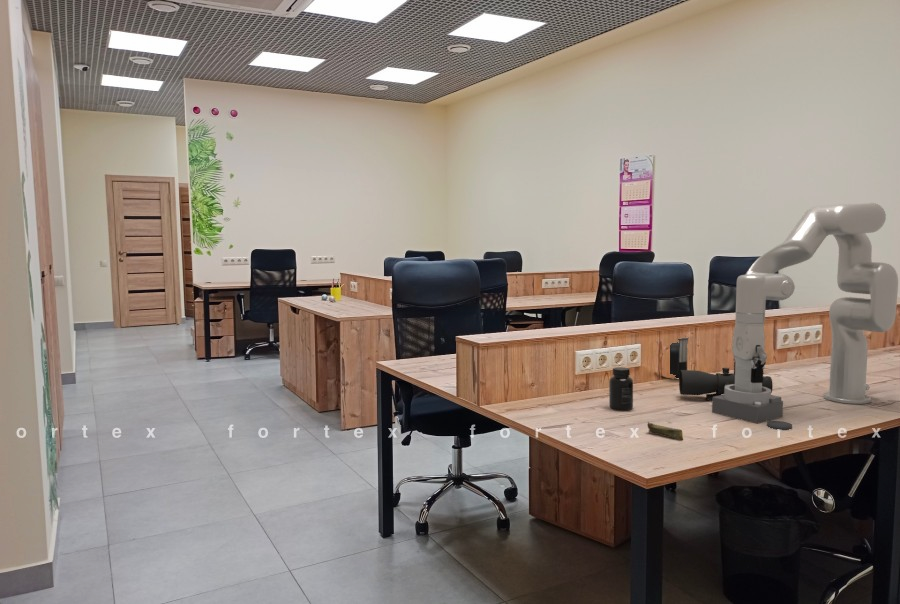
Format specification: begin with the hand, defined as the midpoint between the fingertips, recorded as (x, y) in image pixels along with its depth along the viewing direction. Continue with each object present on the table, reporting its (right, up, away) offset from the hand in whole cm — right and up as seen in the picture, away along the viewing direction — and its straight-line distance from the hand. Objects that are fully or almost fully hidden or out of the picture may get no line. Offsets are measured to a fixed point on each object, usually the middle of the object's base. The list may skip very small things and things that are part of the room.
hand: (747, 378), depth 185 cm
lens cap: (+3, -12, -11) cm, 17 cm away
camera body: (0, -10, +1) cm, 10 cm away
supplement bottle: (-34, -10, +9) cm, 36 cm away
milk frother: (0, -6, +49) cm, 50 cm away
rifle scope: (+1, -9, +18) cm, 20 cm away
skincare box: (0, -6, +1) cm, 6 cm away
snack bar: (-30, -13, -19) cm, 37 cm away
